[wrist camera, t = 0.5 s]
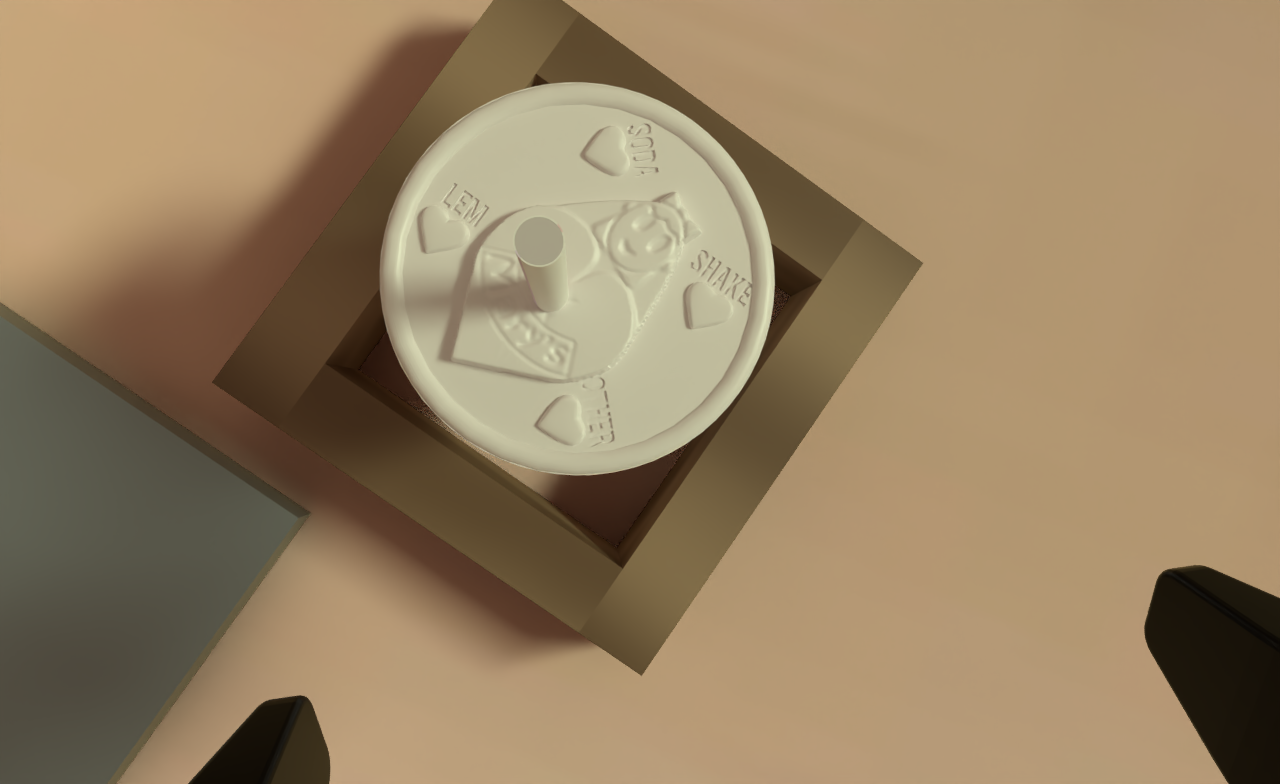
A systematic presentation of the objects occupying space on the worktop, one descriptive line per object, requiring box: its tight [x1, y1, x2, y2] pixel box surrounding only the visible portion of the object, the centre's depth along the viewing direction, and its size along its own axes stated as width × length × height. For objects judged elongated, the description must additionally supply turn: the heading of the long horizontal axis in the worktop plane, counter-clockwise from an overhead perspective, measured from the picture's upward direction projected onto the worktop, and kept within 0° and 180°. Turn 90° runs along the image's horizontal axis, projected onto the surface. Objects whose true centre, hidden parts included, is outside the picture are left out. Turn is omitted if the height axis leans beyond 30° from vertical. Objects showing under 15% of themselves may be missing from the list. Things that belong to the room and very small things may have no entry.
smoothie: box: [380, 82, 775, 475], centre depth 16 cm, size 6×6×14 cm
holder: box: [212, 0, 923, 676], centre depth 22 cm, size 12×12×3 cm
